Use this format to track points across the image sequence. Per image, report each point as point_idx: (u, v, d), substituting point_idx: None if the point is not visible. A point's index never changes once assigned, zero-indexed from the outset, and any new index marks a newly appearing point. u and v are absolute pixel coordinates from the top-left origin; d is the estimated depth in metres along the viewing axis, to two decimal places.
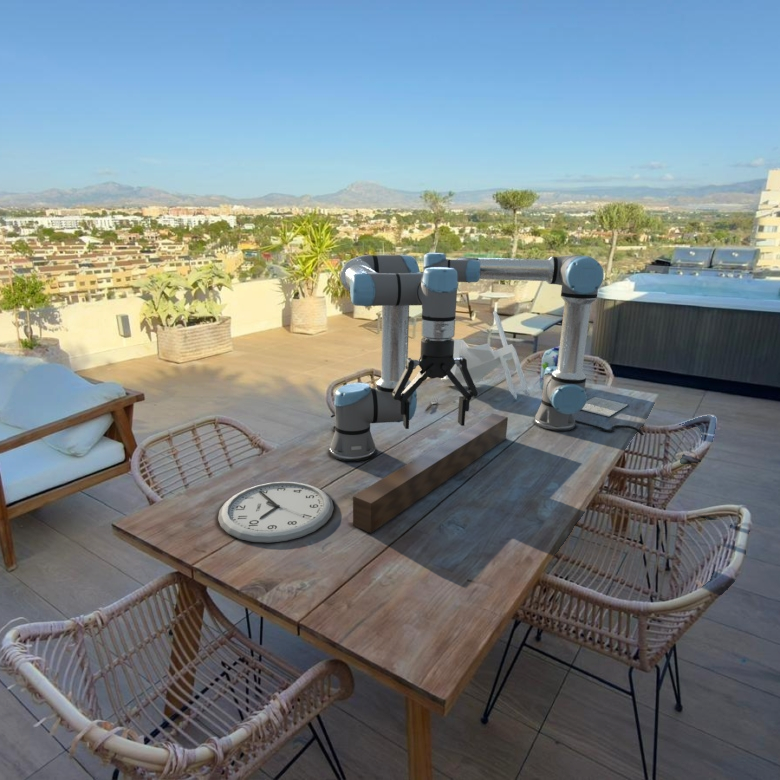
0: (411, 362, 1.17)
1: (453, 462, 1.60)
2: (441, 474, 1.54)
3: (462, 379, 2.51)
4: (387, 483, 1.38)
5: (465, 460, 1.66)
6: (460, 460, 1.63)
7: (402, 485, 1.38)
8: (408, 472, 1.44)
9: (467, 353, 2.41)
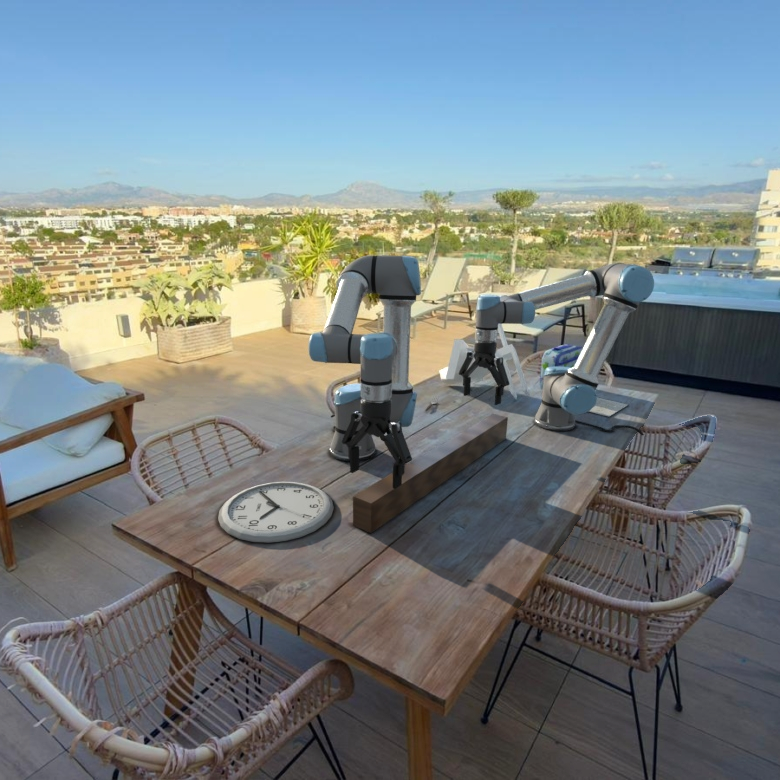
0: (352, 414, 1.30)
1: (453, 462, 1.60)
2: (441, 474, 1.54)
3: (462, 379, 2.51)
4: (387, 483, 1.38)
5: (465, 460, 1.66)
6: (460, 460, 1.63)
7: (402, 485, 1.38)
8: (408, 472, 1.44)
9: None
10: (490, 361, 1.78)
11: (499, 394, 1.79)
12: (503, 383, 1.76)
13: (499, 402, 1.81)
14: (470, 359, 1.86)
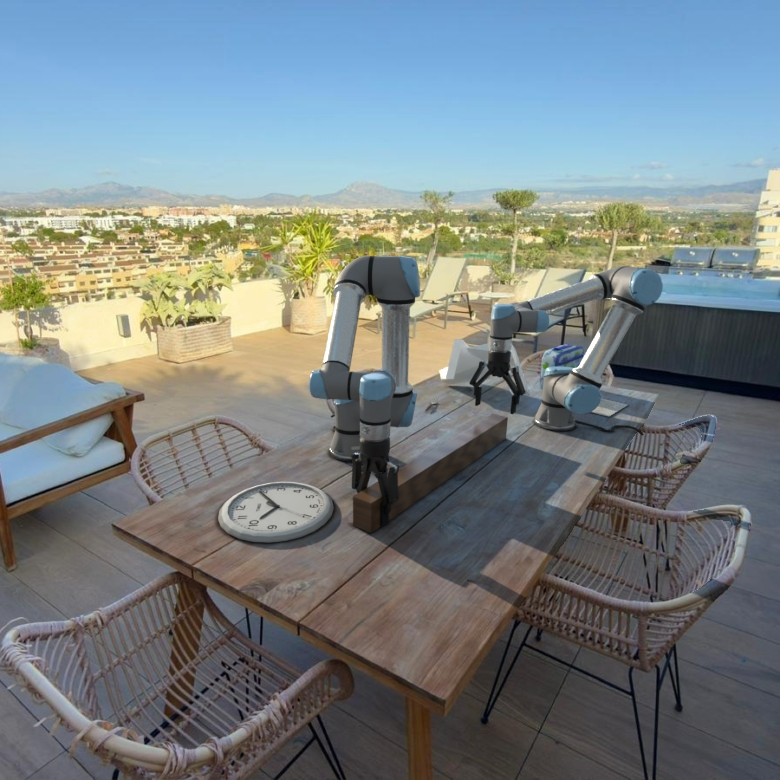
0: (352, 455, 1.33)
1: (453, 462, 1.60)
2: (441, 473, 1.54)
3: (462, 379, 2.51)
4: None
5: (465, 460, 1.66)
6: (460, 460, 1.63)
7: (402, 485, 1.38)
8: (408, 472, 1.44)
9: (467, 353, 2.41)
10: (505, 370, 1.77)
11: (515, 403, 1.78)
12: (520, 392, 1.76)
13: (514, 411, 1.80)
14: (482, 369, 1.84)
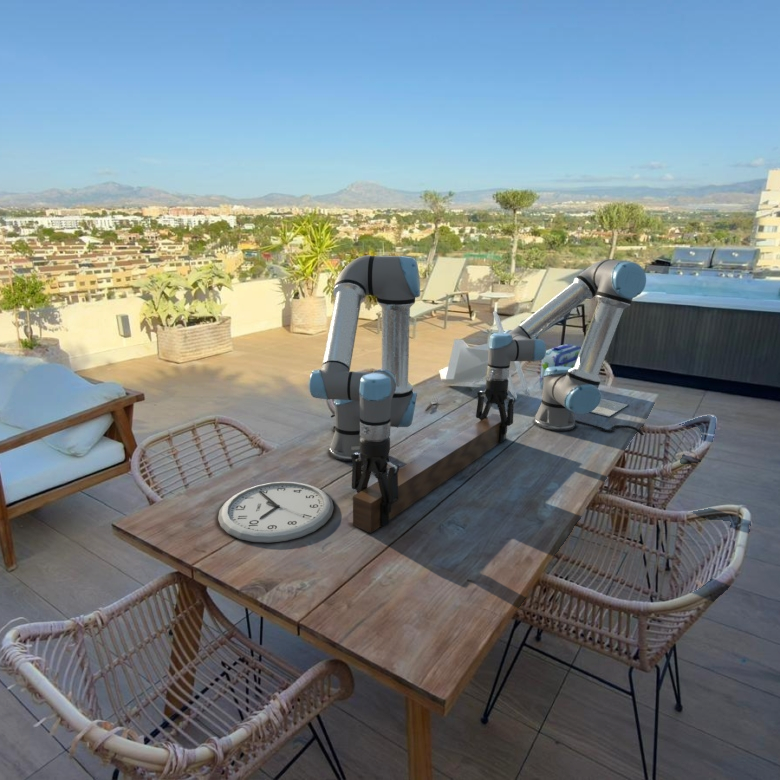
0: (352, 455, 1.33)
1: (453, 462, 1.60)
2: (440, 473, 1.54)
3: (462, 379, 2.51)
4: None
5: (465, 460, 1.66)
6: (460, 460, 1.63)
7: (402, 485, 1.38)
8: (408, 472, 1.44)
9: (467, 353, 2.41)
10: (503, 398, 1.80)
11: (503, 433, 1.84)
12: (508, 422, 1.81)
13: (502, 440, 1.86)
14: (482, 399, 1.86)
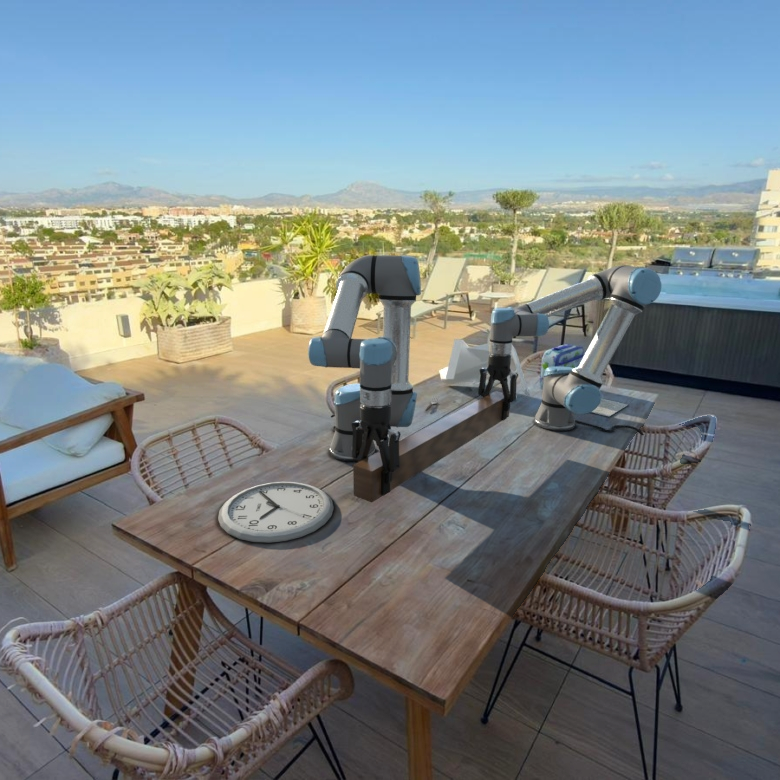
0: (352, 424, 1.30)
1: (456, 436, 1.57)
2: (443, 447, 1.52)
3: (462, 379, 2.51)
4: None
5: (467, 435, 1.63)
6: (462, 435, 1.60)
7: (404, 456, 1.36)
8: (409, 444, 1.41)
9: (467, 353, 2.41)
10: (506, 374, 1.78)
11: (506, 410, 1.81)
12: (511, 399, 1.78)
13: (505, 417, 1.83)
14: (485, 375, 1.84)
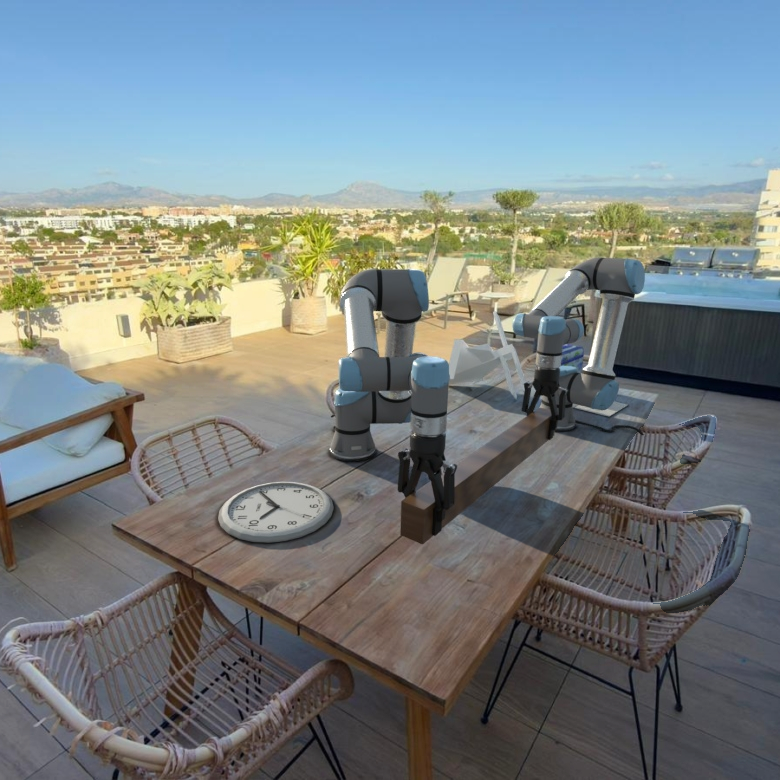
0: (399, 453, 1.14)
1: (505, 461, 1.41)
2: (493, 474, 1.35)
3: (462, 379, 2.51)
4: None
5: (516, 459, 1.47)
6: (511, 460, 1.44)
7: (456, 488, 1.19)
8: (460, 473, 1.25)
9: (467, 353, 2.41)
10: (554, 389, 1.61)
11: (553, 428, 1.65)
12: (560, 417, 1.62)
13: (552, 436, 1.67)
14: (529, 390, 1.68)
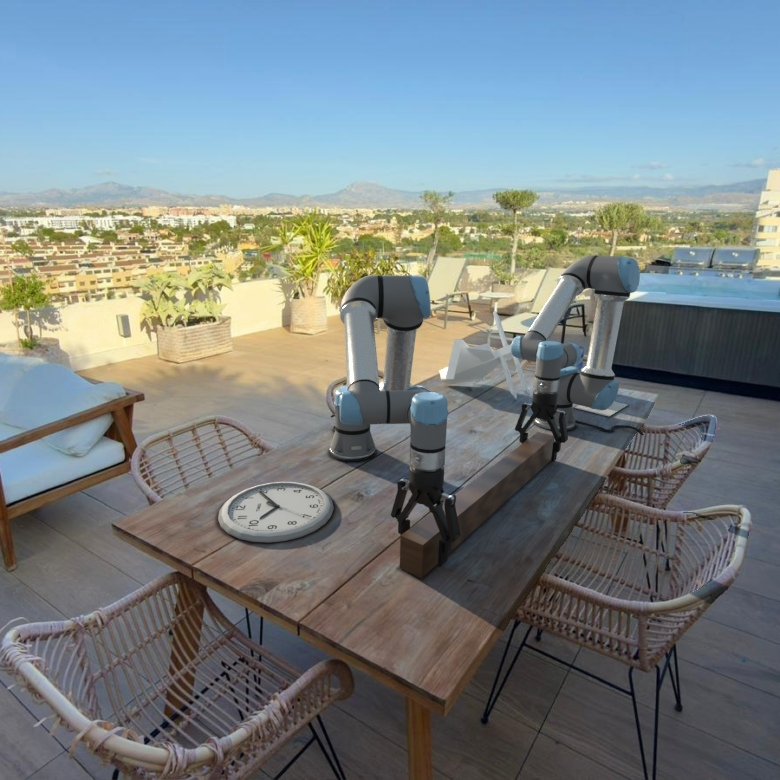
0: (398, 483, 1.16)
1: (503, 490, 1.43)
2: (491, 504, 1.38)
3: (462, 379, 2.51)
4: None
5: (514, 486, 1.49)
6: (509, 487, 1.47)
7: None
8: (458, 505, 1.27)
9: (467, 353, 2.41)
10: (552, 413, 1.63)
11: (557, 450, 1.66)
12: (563, 439, 1.63)
13: (555, 458, 1.68)
14: (526, 411, 1.70)
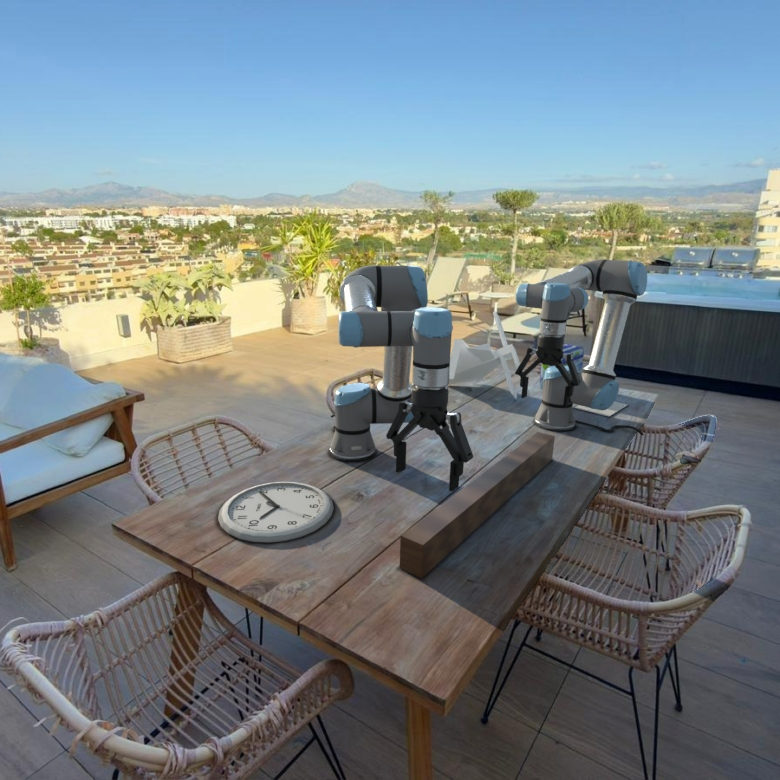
0: (401, 404, 1.10)
1: (503, 490, 1.43)
2: (491, 504, 1.38)
3: (462, 379, 2.51)
4: (436, 519, 1.21)
5: (514, 486, 1.49)
6: (509, 487, 1.47)
7: (454, 521, 1.22)
8: (458, 505, 1.27)
9: (467, 353, 2.41)
10: (558, 358, 1.58)
11: (569, 394, 1.59)
12: (575, 382, 1.56)
13: (567, 403, 1.61)
14: (530, 356, 1.65)
